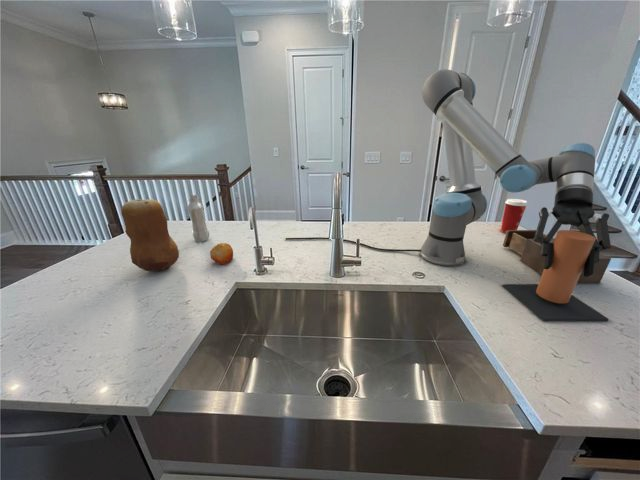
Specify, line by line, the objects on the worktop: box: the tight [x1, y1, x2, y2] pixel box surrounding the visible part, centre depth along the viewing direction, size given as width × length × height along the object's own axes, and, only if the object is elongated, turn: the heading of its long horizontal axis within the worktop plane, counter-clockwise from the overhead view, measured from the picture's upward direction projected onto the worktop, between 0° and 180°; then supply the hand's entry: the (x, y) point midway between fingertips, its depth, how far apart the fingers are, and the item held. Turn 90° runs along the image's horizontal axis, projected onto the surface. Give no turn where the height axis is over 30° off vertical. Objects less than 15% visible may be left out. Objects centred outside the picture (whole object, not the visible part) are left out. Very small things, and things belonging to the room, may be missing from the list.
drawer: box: [502, 229, 555, 256], centre depth 98 cm, size 19×12×7 cm, turn 179°
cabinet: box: [519, 238, 612, 284], centre depth 86 cm, size 16×14×9 cm
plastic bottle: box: [186, 194, 210, 242], centre depth 112 cm, size 6×7×20 cm
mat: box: [501, 283, 609, 322], centre depth 72 cm, size 16×16×1 cm
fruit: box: [209, 242, 234, 265], centre depth 95 cm, size 8×8×8 cm
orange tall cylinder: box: [536, 229, 597, 304], centre depth 68 cm, size 7×7×18 cm
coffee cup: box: [500, 198, 528, 234], centre depth 118 cm, size 8×8×15 cm
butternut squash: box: [120, 198, 180, 272], centre depth 87 cm, size 14×13×25 cm
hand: (567, 271), depth 65 cm, fingers closed on orange tall cylinder, 7 cm apart
